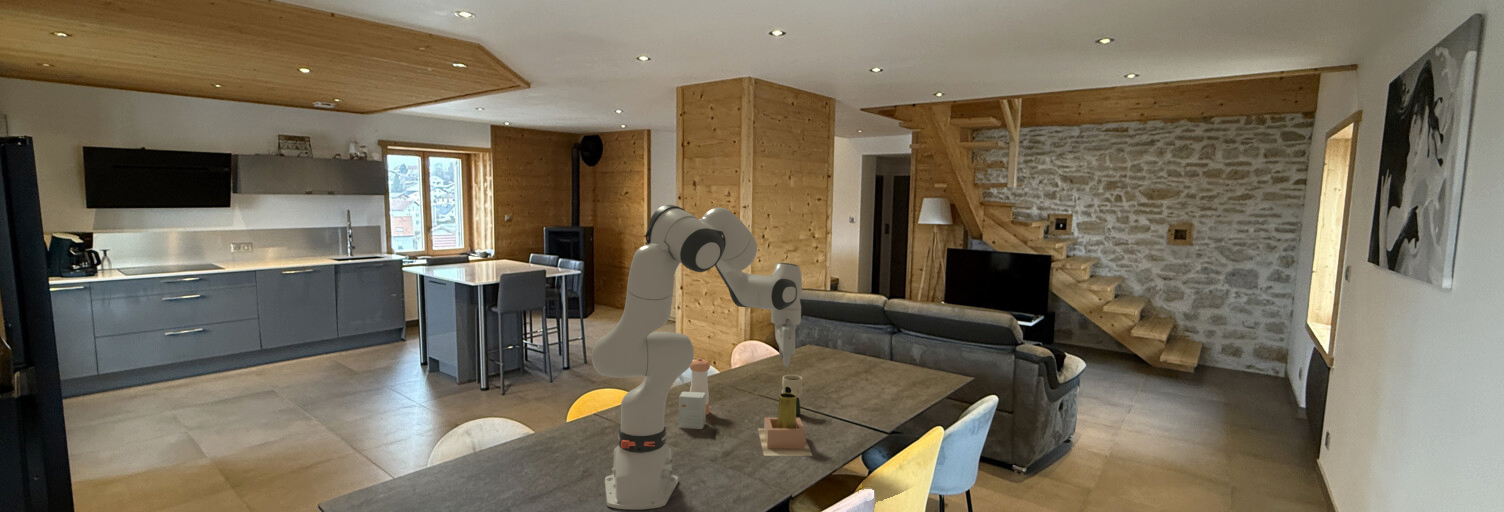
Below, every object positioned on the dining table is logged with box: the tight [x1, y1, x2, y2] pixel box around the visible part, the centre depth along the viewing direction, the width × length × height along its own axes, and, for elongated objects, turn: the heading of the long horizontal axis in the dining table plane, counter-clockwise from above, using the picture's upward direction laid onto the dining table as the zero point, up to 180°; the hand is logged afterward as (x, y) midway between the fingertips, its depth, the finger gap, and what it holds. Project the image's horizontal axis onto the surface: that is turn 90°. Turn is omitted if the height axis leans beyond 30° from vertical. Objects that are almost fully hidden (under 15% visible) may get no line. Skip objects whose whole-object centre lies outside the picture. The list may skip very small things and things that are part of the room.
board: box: [757, 428, 813, 457], centre depth 196 cm, size 22×14×1 cm, turn 4°
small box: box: [678, 391, 707, 430], centre depth 210 cm, size 8×6×10 cm
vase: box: [777, 392, 797, 428], centre depth 196 cm, size 6×6×14 cm
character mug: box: [781, 374, 804, 416], centre depth 224 cm, size 11×7×13 cm, turn 30°
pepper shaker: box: [689, 357, 711, 416], centre depth 223 cm, size 7×7×19 cm
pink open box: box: [763, 417, 806, 448], centre depth 196 cm, size 11×11×6 cm
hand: (784, 362), depth 195 cm, fingers open, 8 cm apart
